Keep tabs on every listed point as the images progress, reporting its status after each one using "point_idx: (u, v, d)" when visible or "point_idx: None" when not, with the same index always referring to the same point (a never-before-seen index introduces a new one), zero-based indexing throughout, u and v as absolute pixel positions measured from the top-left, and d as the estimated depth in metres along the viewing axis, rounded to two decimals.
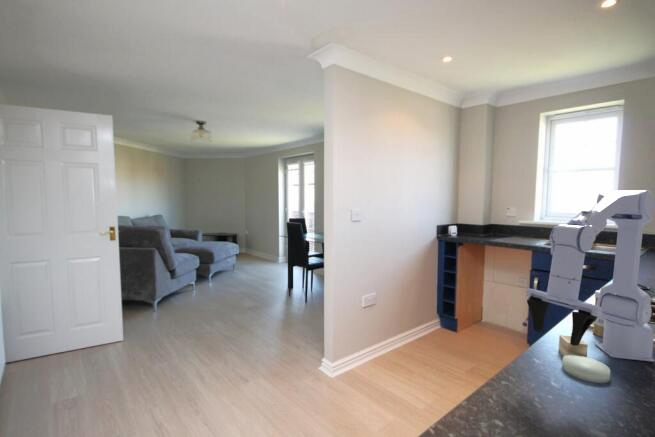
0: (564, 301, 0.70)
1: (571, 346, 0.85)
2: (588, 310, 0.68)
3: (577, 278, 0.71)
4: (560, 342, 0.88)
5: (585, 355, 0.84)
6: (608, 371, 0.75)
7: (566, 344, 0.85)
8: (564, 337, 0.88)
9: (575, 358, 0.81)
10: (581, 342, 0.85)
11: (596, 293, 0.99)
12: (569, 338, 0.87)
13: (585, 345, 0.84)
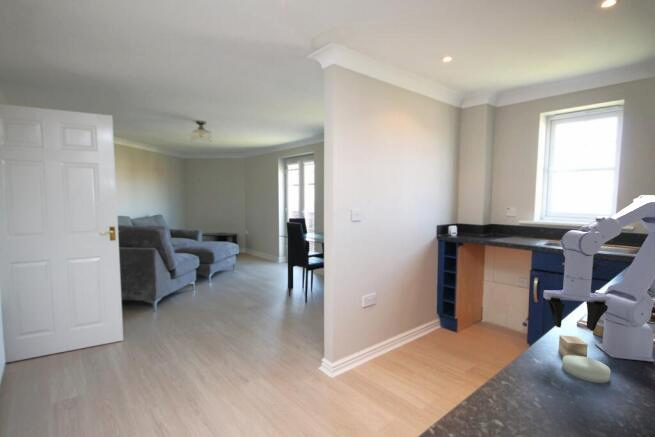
0: (589, 298, 0.83)
1: (571, 346, 0.85)
2: (600, 300, 0.84)
3: (584, 277, 0.82)
4: (560, 342, 0.88)
5: (585, 355, 0.84)
6: (608, 371, 0.75)
7: (566, 344, 0.85)
8: (564, 337, 0.88)
9: (575, 358, 0.81)
10: (581, 342, 0.85)
11: (596, 293, 0.99)
12: (569, 338, 0.87)
13: (585, 345, 0.84)
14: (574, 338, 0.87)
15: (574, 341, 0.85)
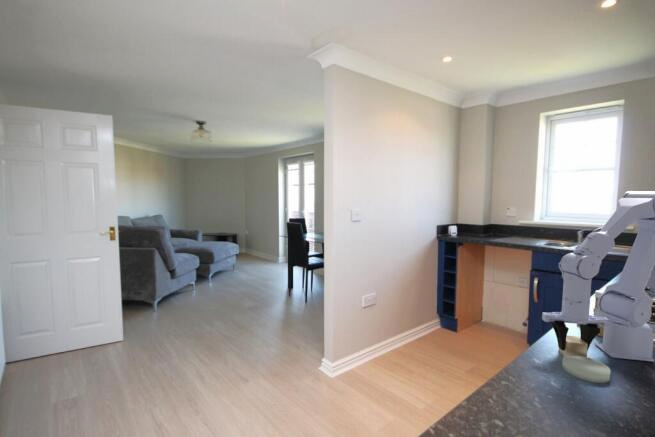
0: (588, 322, 0.83)
1: (571, 346, 0.85)
2: (598, 323, 0.84)
3: (583, 301, 0.83)
4: None
5: (585, 355, 0.84)
6: (608, 371, 0.75)
7: (566, 344, 0.85)
8: None
9: (575, 358, 0.81)
10: (581, 342, 0.85)
11: (596, 293, 0.99)
12: (569, 338, 0.87)
13: (585, 345, 0.84)
14: (574, 338, 0.87)
15: (574, 340, 0.85)
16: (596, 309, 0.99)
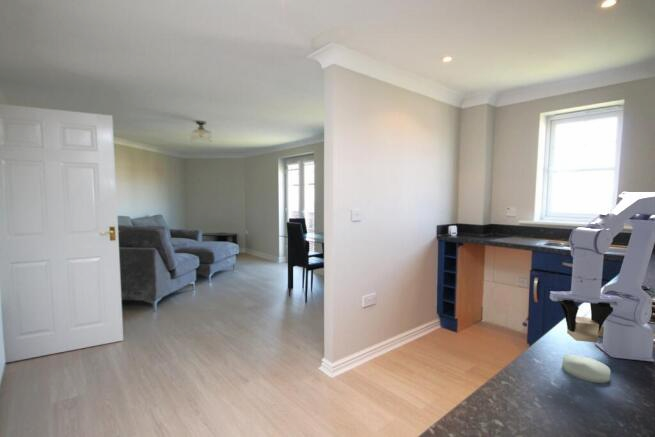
0: (600, 300, 0.77)
1: (581, 326, 0.79)
2: (611, 302, 0.79)
3: (598, 278, 0.77)
4: None
5: (596, 336, 0.78)
6: (608, 371, 0.75)
7: (576, 325, 0.79)
8: None
9: (575, 358, 0.81)
10: (592, 322, 0.79)
11: None
12: (579, 318, 0.81)
13: (596, 325, 0.78)
14: (584, 318, 0.81)
15: (584, 321, 0.80)
16: None
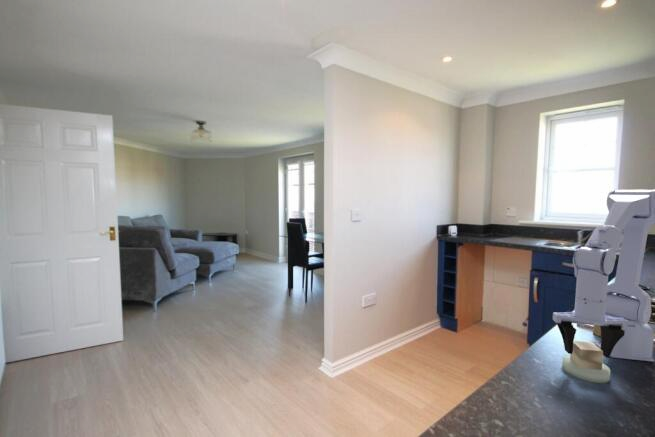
0: (604, 323, 0.75)
1: (585, 353, 0.76)
2: (616, 324, 0.76)
3: (603, 300, 0.75)
4: None
5: (600, 363, 0.76)
6: (608, 371, 0.75)
7: (579, 351, 0.77)
8: (576, 343, 0.80)
9: None
10: (596, 349, 0.77)
11: None
12: (582, 344, 0.79)
13: (600, 352, 0.76)
14: (588, 344, 0.79)
15: (587, 347, 0.77)
16: None
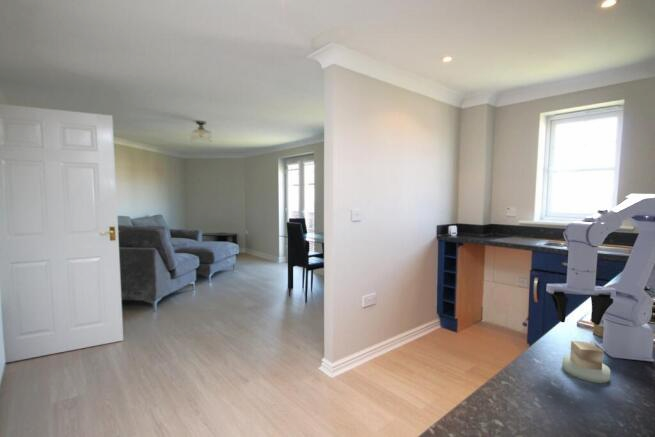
0: (594, 291, 0.79)
1: (585, 353, 0.76)
2: (605, 293, 0.81)
3: (591, 270, 0.79)
4: (572, 348, 0.80)
5: (600, 363, 0.76)
6: (608, 371, 0.75)
7: (579, 351, 0.77)
8: (576, 343, 0.80)
9: None
10: (596, 349, 0.77)
11: None
12: (582, 344, 0.79)
13: (600, 352, 0.76)
14: (588, 344, 0.79)
15: (587, 347, 0.77)
16: None
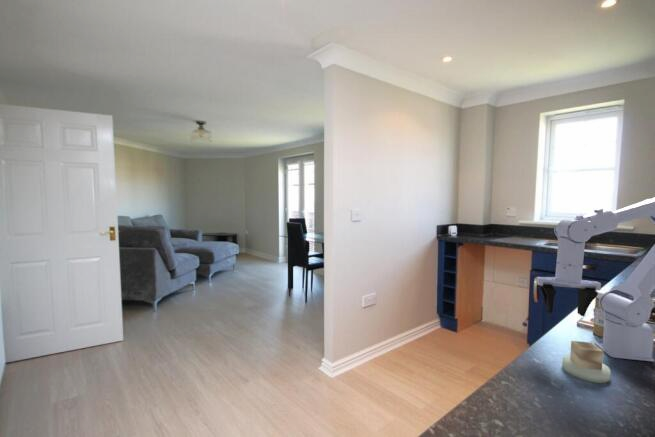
0: (580, 284, 0.85)
1: (585, 353, 0.76)
2: (591, 286, 0.87)
3: (573, 264, 0.85)
4: (572, 348, 0.80)
5: (600, 363, 0.76)
6: (608, 371, 0.75)
7: (579, 351, 0.77)
8: (576, 343, 0.80)
9: None
10: (596, 349, 0.77)
11: None
12: (582, 344, 0.79)
13: (600, 352, 0.76)
14: (588, 344, 0.79)
15: (587, 347, 0.77)
16: (596, 309, 0.99)
